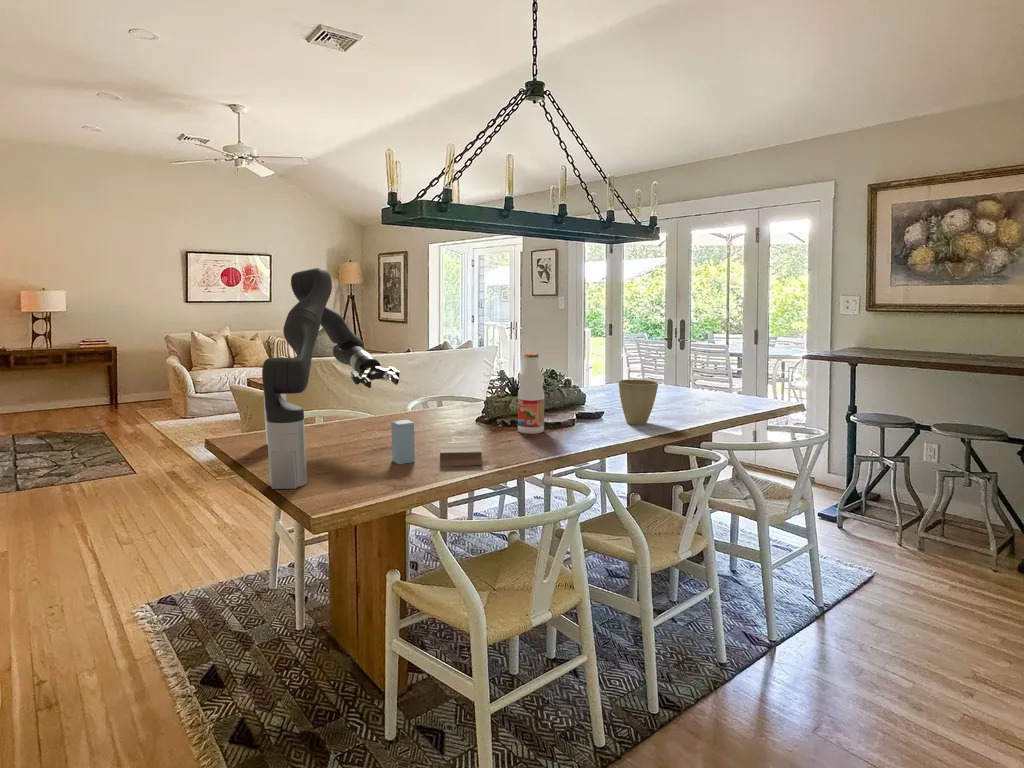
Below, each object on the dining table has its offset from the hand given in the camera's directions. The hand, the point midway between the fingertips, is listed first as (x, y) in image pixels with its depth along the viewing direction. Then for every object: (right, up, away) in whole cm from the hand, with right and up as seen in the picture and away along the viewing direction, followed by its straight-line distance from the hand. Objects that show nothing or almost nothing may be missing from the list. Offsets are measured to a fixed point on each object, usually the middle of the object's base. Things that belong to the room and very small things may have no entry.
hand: (383, 383), depth 201 cm
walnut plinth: (+24, -23, -3) cm, 33 cm away
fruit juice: (+46, -17, +37) cm, 61 cm away
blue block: (+7, -23, -4) cm, 24 cm away
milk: (-38, -20, +16) cm, 46 cm away
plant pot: (+87, -15, +52) cm, 102 cm away
